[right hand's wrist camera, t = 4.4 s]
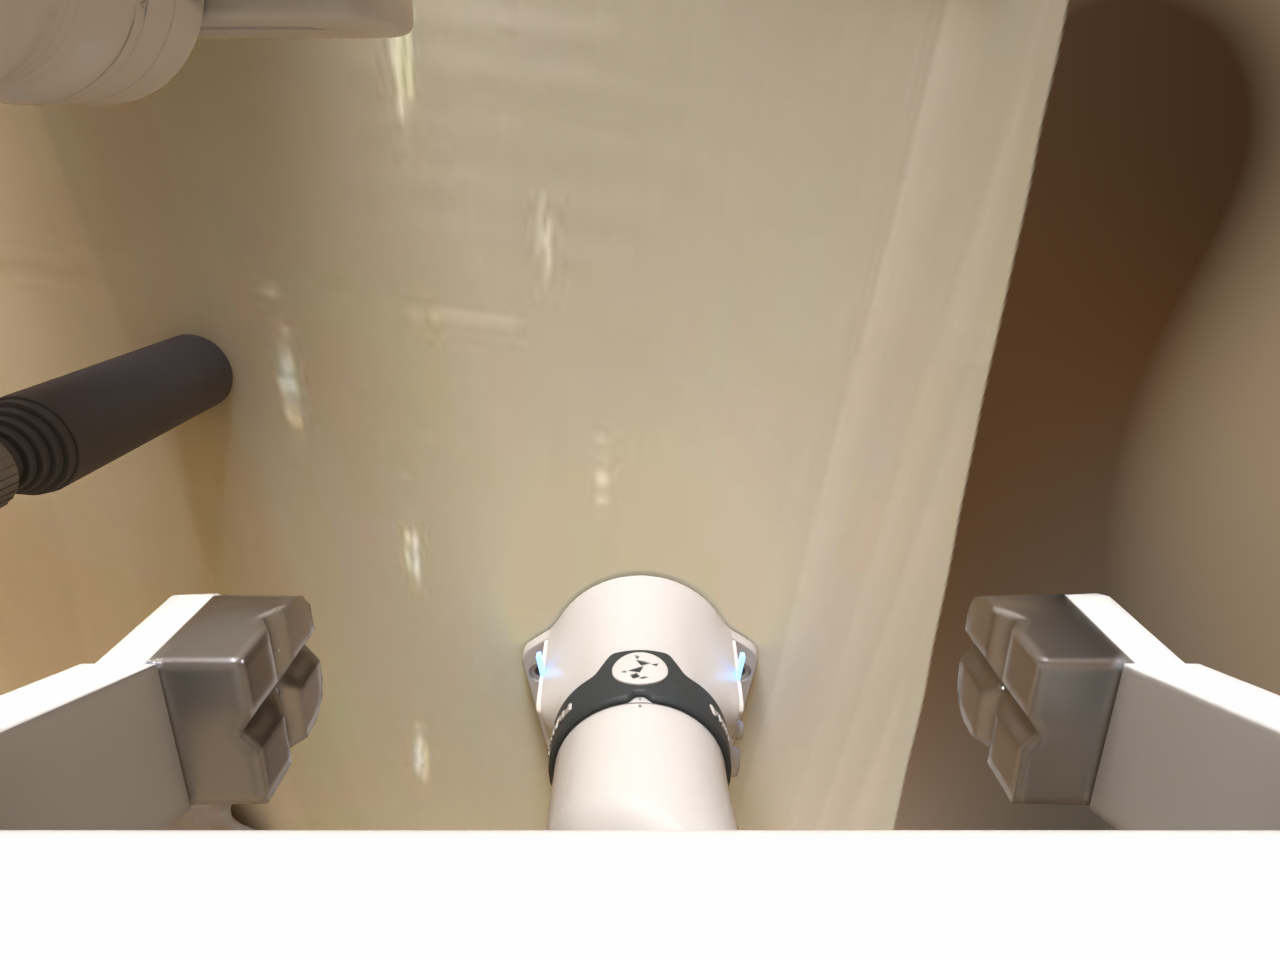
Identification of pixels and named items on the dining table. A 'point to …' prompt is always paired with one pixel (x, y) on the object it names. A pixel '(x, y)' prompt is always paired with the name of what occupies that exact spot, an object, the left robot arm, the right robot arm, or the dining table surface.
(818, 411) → the dining table surface
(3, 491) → the cap
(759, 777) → the dining table surface
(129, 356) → the bottle
